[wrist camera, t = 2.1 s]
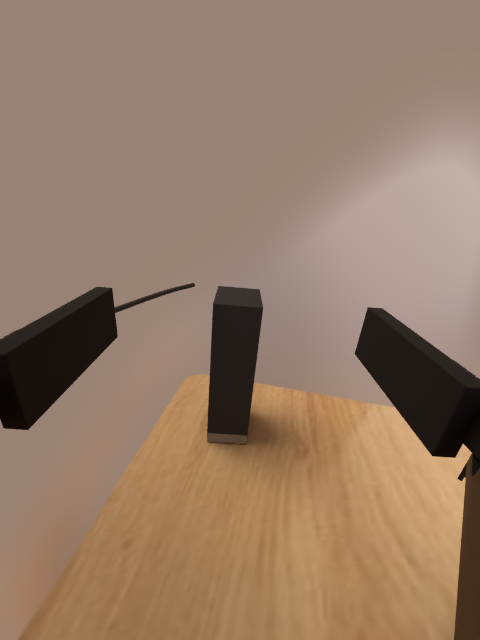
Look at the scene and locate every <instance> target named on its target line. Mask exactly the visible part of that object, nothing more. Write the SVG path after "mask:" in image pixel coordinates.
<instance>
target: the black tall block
mask: <svg viewBox="0 0 480 640" xmlns="http://www.w3.org/2000/svg"><path fill="white" fill-rule="evenodd" d="M262 312H263V306H262V301H261V295H260V290H259V289H248V288H235V287H223V286H219V287H218V290H217V293H216V296H215V300H214V303H213V319H212V341H211V364H210V366H211V367H210V385H209V407H208V429H207V442H219V443H234V444H246V440H247V433H248V424H249V416H250V408H251V400H252V392H253V384H254V376H255V368H256V360H257V352H258V344H259V336H260V328H261V320H262Z"/></svg>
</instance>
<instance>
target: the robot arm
mask: <svg viewBox="0 0 480 640" xmlns="http://www.w3.org/2000/svg"><path fill="white" fill-rule="evenodd" d="M194 286H195V284H194V283H191V284H187V285H183V286H179V287H175V288H171V289H167V290H164V291H161V292H158V293H155V294H152V295H149V296H146V297H143V298H140V299H137V300H134V301H132V302H129V303H126V304H123V305H120V306H117V307H114V300H113V292H112V288H105V287H96V288H94V289H92V290H90V291H88V292H87V293H85V294H83V295H81V296H79V297H78V298H76V299H74V300H72V301H70V302H69V303H67V304H65V305H63V306H61V307H60V308H58V309H56V310H54V311H52V312H51V313H49V314H47V315H45V316H43V317H42V318H40V319H38V320H36V321H34V322H32V323H30V324H29V325H27V326H25V327H23V328H21V329H19V330H16V331H14V332H13V333H11V334H9V335H7V336H5V337H4V338H3V339H0V419H1V422H2V425H3V428H6V429H22V430H28V429H29V428H30V427H31V426H32V425H33V424H34V423H35V422H36V421H37V420H38V419H39V418H40V417H41V416H42V415H43V414H44V413H45V412H46V411H47V410H48V409H49V407H50V406H51V405H52V404H53V403H54V402H55V401H56V400H57V399H58V398H59V397H60V396H61V395H62V394H63V393H64V392H65V391H66V390H67V389H68V388H69V387H70V386H71V385H72V384H73V382H75V380H76V379H77V378H78V377H79V376H80V375H81V374H82V373H83V372H84V371H85V370H86V369H87V368H88V367H89V366H90V365H91V364H92V363H93V362H94V361H95V360H96V359H97V358H98V356H100V354H101V353H102V352H103V351H104V350H105V349H106V348H107V347H108V346H109V345H110V344H111V343H112V342H113V341H114V340H115V339H116V338H117V327H116V318H115V313H116V312H119V311H122V310H124V309H127V308H129V307H132V306H135V305H137V304H140V303H143V302H145V301H148V300H151V299H154V298H157V297H160V296H162V295H166V294H169V293H172V292H175V291H178V290H183V289H187V288H191V287H194ZM355 355H356V356H357V357H358V359H359V360H360V361H361V363H362V364H363V365H364V366H365V368H366V369H367V370H368V372H369V373H370V374H371V376H372V377H373V378H374V380H375V381H376V382H377V383H378V385H379V386H380V388H381V389H382V390H383V392H384V393H385V394H386V395H387V397H388V398H389V400H390V401H391V402H392V403H393V405H394V406H395V407H396V409H397V410H398V411H399V413H400V414H401V415H402V417H403V418H404V419H405V421H406V422H407V423H408V425H409V426H410V427H411V429H412V430H413V431H414V433H415V434H416V435H417V437H418V438H419V439H420V440H421V442H422V443H423V444H424V446H425V447H426V448H427V450H428V451H429V452H430V454H431V455H432V456H438V457H454V458H455V457H456V455H457V453H458V452H459V450H460V448H461V446H462V444H464V445H465V446H466V447H467V448H468V449H469V450H470V451H471V452H472V454H471V456H470V458H469V460H468V461H467V463H466V465H465V467H464V468H463V470H462V472H461V474H460V475H459V477H458V479H459V480H461V481H462V480H463V478H464V477H466V483H465V497H464V510H463V524H462V538H461V551H460V565H459V579H458V593H457V606H456V620H455V634H454V640H480V379H479V378H476V377H475V375H473V374H472V373H471V372H469V371H467V369H465V368H463V367H462V366H461V365H460V364H458V363H457V362H455V361H454V360H452V359H450V358H449V357H448V356H446V355H445V354H444V353H442V352H441V351H439V350H438V349H437V348H435V347H434V346H433V345H431V344H430V343H429V342H427V341H426V340H425V339H423V338H422V337H420V336H419V335H418V334H416V333H415V332H414V331H412V330H411V329H410V328H408V327H407V326H406V325H404V324H403V323H401V322H400V321H399V320H397V319H396V318H394V317H393V316H392V315H391V314H389V313H388V312H386V311H385V310H383V309H381V308H368V309H367V312H366V316H365V319H364V323H363V326H362V330H361V334H360V337H359V341H358V344H357V348H356V351H355Z"/></svg>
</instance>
